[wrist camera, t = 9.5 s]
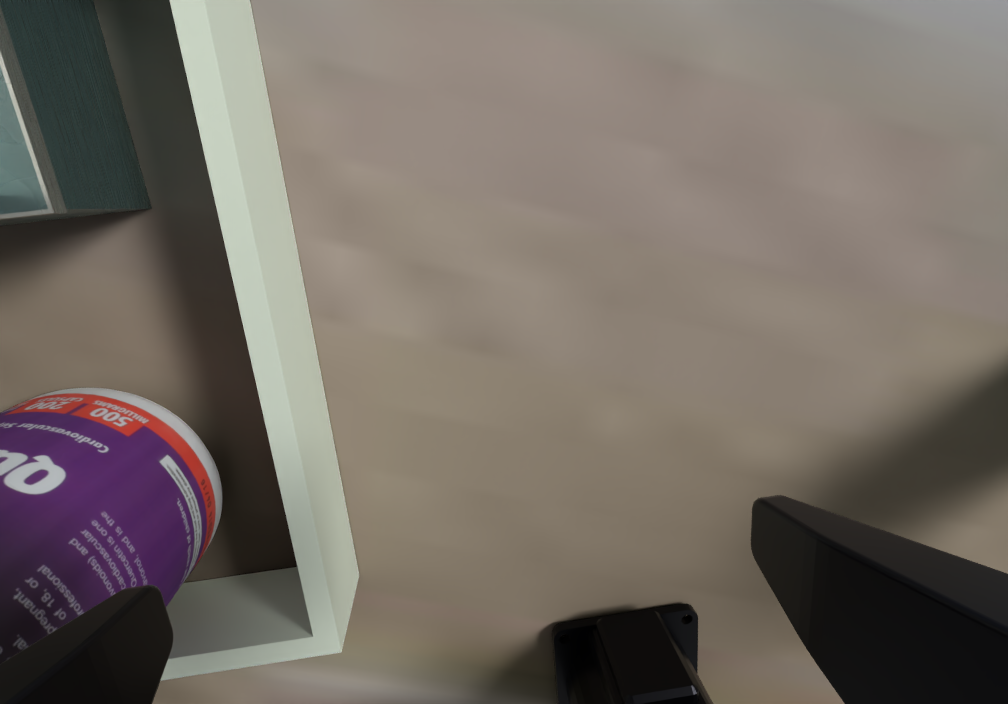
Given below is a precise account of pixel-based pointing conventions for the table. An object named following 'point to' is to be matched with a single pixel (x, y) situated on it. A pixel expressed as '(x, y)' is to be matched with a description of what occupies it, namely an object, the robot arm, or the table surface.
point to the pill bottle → (96, 506)
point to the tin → (61, 117)
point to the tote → (263, 372)
